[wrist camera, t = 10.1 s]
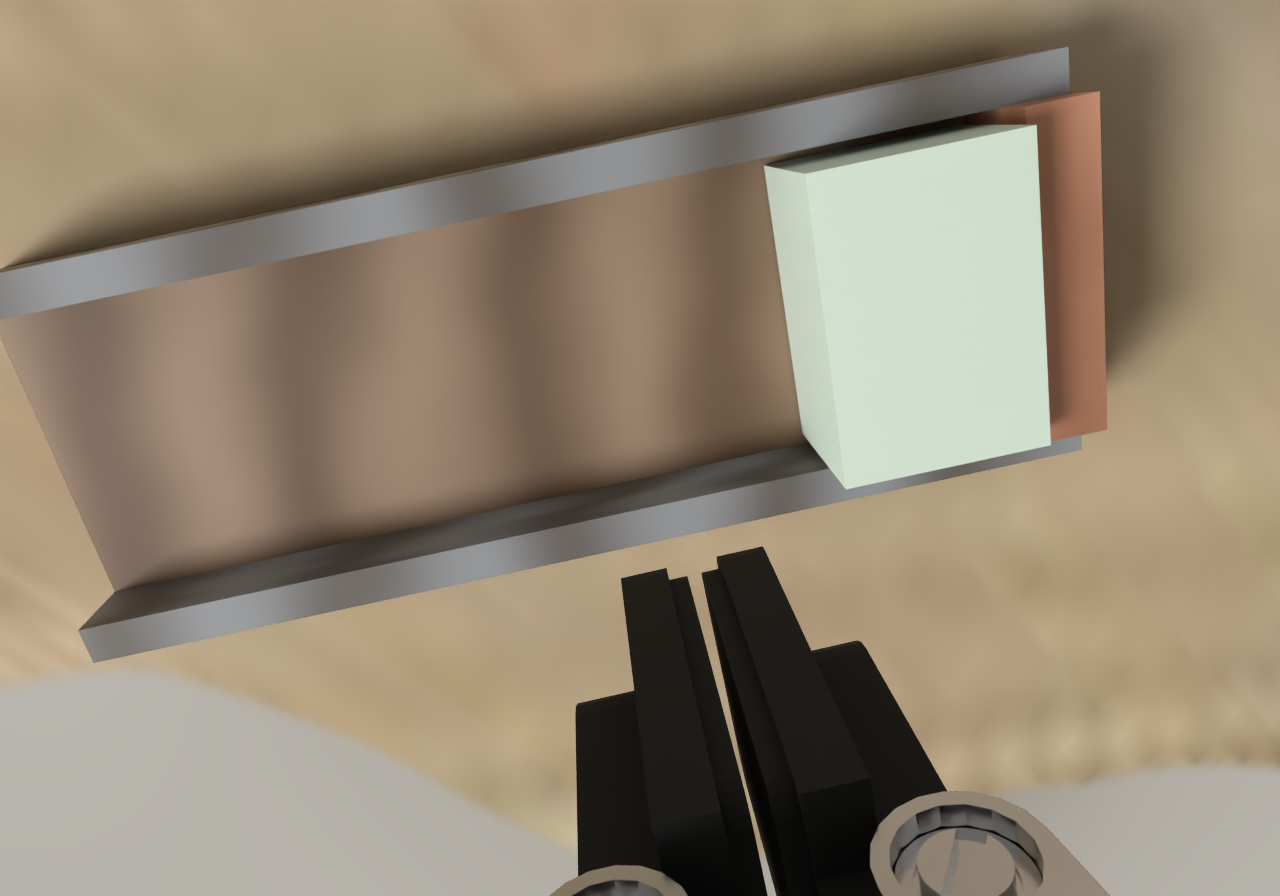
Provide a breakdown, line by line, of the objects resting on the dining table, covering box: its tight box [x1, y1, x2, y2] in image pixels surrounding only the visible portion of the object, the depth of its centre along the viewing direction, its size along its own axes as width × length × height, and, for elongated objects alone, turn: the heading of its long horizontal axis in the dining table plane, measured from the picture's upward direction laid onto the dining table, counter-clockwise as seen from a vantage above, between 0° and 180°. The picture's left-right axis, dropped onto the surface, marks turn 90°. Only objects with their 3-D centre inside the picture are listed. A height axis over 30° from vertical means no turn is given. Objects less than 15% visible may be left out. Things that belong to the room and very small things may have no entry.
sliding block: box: [764, 125, 1051, 489], centre depth 27 cm, size 6×9×5 cm
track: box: [0, 47, 1107, 663], centre depth 28 cm, size 32×12×6 cm, turn 101°
